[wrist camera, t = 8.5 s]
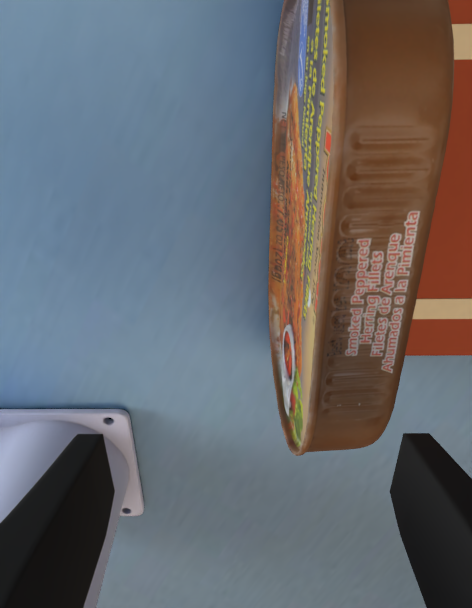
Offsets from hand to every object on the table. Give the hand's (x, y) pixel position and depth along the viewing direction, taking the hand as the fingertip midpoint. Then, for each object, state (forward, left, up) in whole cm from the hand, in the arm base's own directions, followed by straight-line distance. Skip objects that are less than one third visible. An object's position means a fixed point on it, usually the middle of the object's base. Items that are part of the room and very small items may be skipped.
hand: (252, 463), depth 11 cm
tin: (+2, +4, -10) cm, 11 cm away
